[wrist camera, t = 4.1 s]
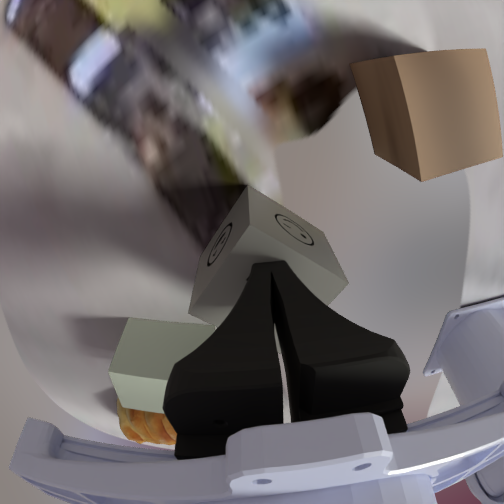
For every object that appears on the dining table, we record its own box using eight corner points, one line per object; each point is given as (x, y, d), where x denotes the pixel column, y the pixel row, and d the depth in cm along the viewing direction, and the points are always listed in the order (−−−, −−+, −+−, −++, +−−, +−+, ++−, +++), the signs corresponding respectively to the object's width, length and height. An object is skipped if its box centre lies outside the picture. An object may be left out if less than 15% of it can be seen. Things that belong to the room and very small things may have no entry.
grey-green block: (215, 324, 20) (209, 384, 16) (214, 362, 22) (210, 418, 18) (129, 316, 20) (108, 371, 15) (137, 354, 22) (122, 407, 17)
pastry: (209, 383, 24) (207, 422, 20) (229, 420, 27) (229, 454, 24) (114, 388, 24) (104, 421, 21) (144, 423, 28) (139, 453, 24)
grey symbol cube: (323, 231, 17) (349, 283, 13) (272, 293, 19) (280, 353, 15) (247, 184, 16) (250, 224, 11) (200, 256, 18) (187, 313, 13)
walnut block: (427, 51, 12) (485, 48, 7) (446, 135, 14) (502, 156, 10) (348, 64, 13) (393, 55, 8) (374, 154, 15) (421, 182, 11)
